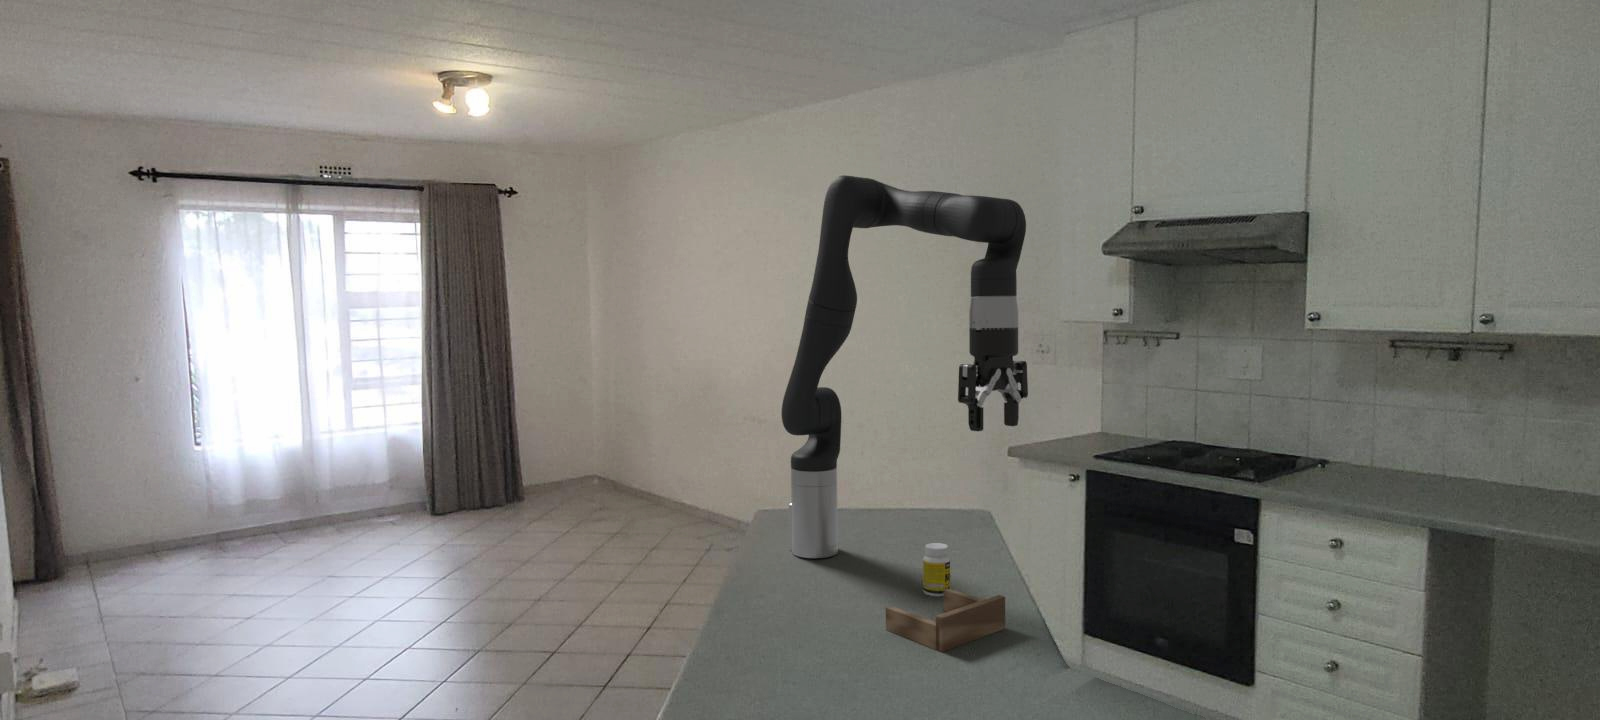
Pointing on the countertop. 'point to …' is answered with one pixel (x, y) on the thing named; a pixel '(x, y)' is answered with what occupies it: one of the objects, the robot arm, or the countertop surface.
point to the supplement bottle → (936, 569)
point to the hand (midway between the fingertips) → (993, 428)
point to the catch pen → (950, 621)
